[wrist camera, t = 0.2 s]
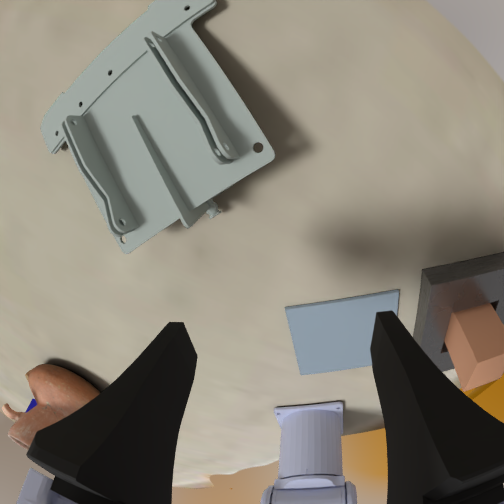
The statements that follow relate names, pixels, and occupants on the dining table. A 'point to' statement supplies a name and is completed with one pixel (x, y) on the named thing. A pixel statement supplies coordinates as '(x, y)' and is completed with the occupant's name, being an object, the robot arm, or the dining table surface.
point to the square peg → (476, 345)
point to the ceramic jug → (49, 401)
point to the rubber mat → (337, 331)
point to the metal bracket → (156, 126)
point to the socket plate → (455, 300)
